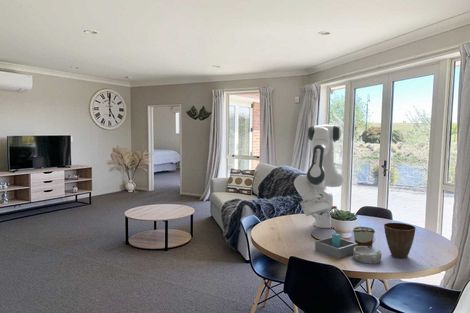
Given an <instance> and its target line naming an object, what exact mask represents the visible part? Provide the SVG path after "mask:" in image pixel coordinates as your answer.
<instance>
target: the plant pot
mask: <svg viewBox="0 0 470 313" xmlns="http://www.w3.org/2000/svg"><path fill="white" fill-rule="evenodd" d="M383 227H384V228H383V230H384V234H385V238H386V243H387V245H388V249H389V252H390V254H391V256H392V257H394V258H397V259H407V258H408V256H409V254H410V251H411V248H412V245H413V242H414V238H415V235H416V234H415V233H416V229H417V228H416V227H415V225H412V224H410V223H409V224H408V223H404V222H386V223H384V225H383Z"/></svg>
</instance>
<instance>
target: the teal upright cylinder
mask: <svg viewBox="0 0 470 313" xmlns="http://www.w3.org/2000/svg"><path fill="white" fill-rule="evenodd" d="M331 237H332V246H333V247H336V248H341V247H340V238H341V234H340V233H331Z"/></svg>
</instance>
